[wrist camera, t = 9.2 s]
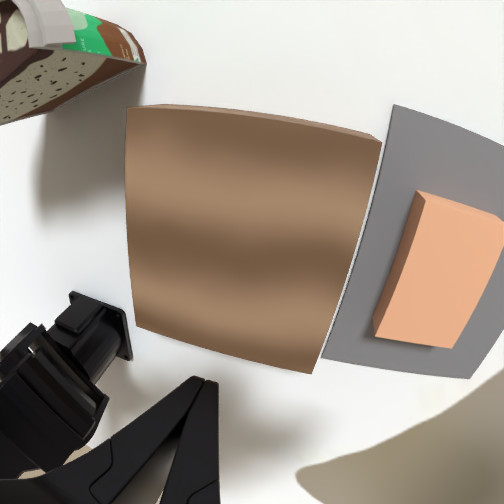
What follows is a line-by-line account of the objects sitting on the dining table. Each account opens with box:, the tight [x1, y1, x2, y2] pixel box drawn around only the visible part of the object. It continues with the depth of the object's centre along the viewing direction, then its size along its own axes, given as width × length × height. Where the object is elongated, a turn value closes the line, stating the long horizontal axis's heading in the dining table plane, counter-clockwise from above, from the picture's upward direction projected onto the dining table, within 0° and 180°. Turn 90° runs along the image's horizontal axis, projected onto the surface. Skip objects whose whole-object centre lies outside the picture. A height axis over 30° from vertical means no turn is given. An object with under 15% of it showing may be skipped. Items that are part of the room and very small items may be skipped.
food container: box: [0, 0, 147, 126], centre depth 12 cm, size 12×6×10 cm, turn 102°
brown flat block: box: [125, 104, 382, 374], centre depth 18 cm, size 14×12×4 cm
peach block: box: [372, 190, 504, 349], centre depth 16 cm, size 9×6×2 cm, turn 173°
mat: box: [322, 104, 504, 379], centre depth 17 cm, size 18×14×1 cm
